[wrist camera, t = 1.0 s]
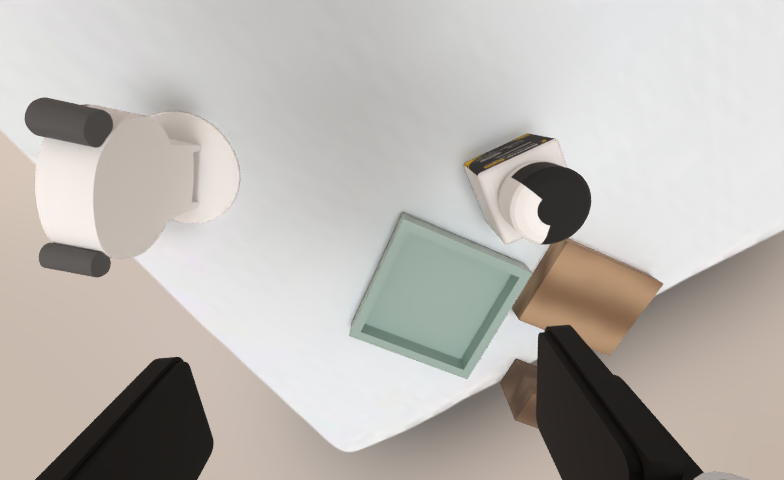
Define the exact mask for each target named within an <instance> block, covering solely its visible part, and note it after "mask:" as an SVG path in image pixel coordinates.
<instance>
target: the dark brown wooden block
mask: <svg viewBox="0 0 784 480" xmlns="http://www.w3.org/2000/svg"><path fill="white" fill-rule="evenodd" d="M500 383H501V386H502V388H503V391H504V394H505V396H506V399H507V401H508V404H509V406H510V409H511V411H512V414H513V416H514V419H515V420H516V421H519V422H522V423H524V424H527V425H530V426H533V427H536V428H538V425H537V420H536V395H537V366H534V365H531V364H529V363H526V362H523V361H521V360H518V359H515V361H514V362H513V364H512V366H511V367H510V369H509V370H508V372H507V373H506V375H505V376H504V378H503V379H502V381H501V382H500ZM538 429H539V428H538Z"/></svg>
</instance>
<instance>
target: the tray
mask: <svg viewBox="0 0 784 480" xmlns="http://www.w3.org/2000/svg"><path fill="white" fill-rule="evenodd" d="M531 275H532V272H531V271H530V270H529V268H528V267H527V266H526V265H525V264H524V263H521V262H519V261H517V260H514V259H512V258H509V257H507V256H505V255H502V254H500V253H498V252H495V251H493V250H491V249H488V248H486V247H483V246H481V245H479V244H476V243H474V242H472V241H469V240H467V239H465V238H462V237H460V236H457V235H455V234H453V233H450V232H448V231H446V230H443V229H441V228H439V227H436V226H434V225H431V224H429V223H427V222H424V221H422V220H420V219H417V218H415V217H413V216H410V215H408V214H405V213H402V215H401V217H400V219H399V222H398V224H397V226H396V228H395V230H394V232H393V235H392V237H391V239H390V241H389V243H388V246H387V248H386V250H385V252H384V254H383V256H382V259H381V261H380V263H379V265H378V267H377V269H376V272H375V274H374V276H373V278H372V280H371V282H370V285H369V287H368V289H367V291H366V293H365V296H364V298H363V300H362V302H361V304H360V306H359V309H358V311H357V313H356V315H355V317H354V319H353V322H352V324H351V329H350V334H349V336H351V337H354V338H356V339H359V340H362V341H365V342H367V343H370V344H373V345H375V346H378V347H381V348H384V349H386V350H389V351H392V352H395V353H397V354H400V355H403V356H405V357H408V358H411V359H414V360H416V361H419V362H422V363H425V364H427V365H430V366H433V367H435V368H438V369H441V370H444V371H446V372H449V373H452V374H454V375H457V376H460V377H463V378H465V379H468V377H469V376H470V374H471V372H472V371H473V369H474V368H475V366H476V364H477V363H478V361H479V359H480V358H481V356H482V355H483V353H484V351H485V350H486V348H487V346H488V345H489V343H490V342H491V340H492V338H493V337H494V335H495V333H496V332H497V330H498V329H499V327H500V325H501V324H502V322H503V320H504V319H505V317H506V316H507V314H508V312H509V311H510V309H511V307H512V306H513V304H514V303H515V301H516V299H517V298H518V296H519V295H520V293H521V291H522V290H523V288H524V286H525V285H526V283H527V282H528V280H529V278H530V277H531Z"/></svg>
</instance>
